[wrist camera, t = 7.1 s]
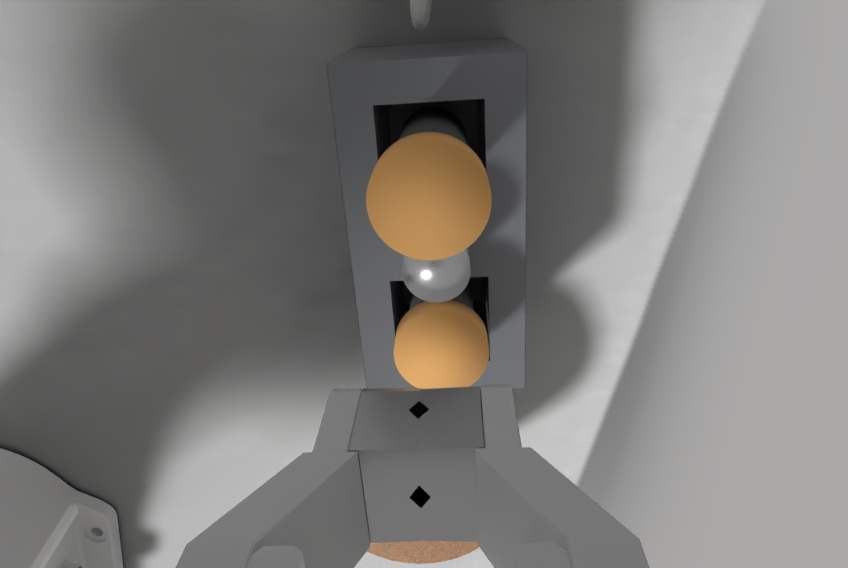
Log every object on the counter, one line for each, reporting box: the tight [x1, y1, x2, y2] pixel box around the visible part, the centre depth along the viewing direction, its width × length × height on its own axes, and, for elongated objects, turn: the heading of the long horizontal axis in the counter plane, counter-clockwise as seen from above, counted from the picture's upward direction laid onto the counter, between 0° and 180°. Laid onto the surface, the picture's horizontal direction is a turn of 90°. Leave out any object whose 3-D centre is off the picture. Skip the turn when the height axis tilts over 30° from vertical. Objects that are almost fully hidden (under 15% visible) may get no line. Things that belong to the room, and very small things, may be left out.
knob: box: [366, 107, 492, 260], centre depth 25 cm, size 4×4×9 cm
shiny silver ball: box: [402, 248, 471, 303], centre depth 26 cm, size 3×3×3 cm
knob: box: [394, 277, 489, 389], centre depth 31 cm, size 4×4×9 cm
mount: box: [327, 38, 527, 389], centre depth 31 cm, size 16×8×8 cm, turn 4°
